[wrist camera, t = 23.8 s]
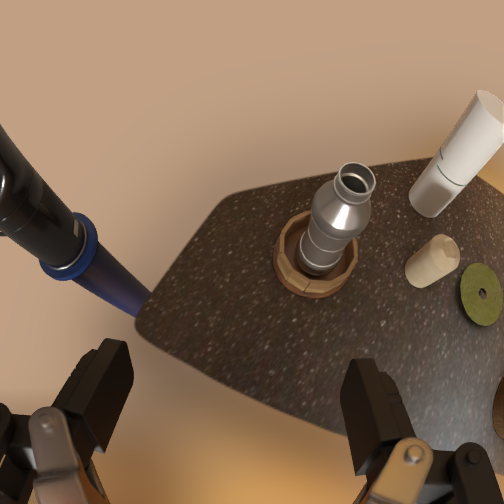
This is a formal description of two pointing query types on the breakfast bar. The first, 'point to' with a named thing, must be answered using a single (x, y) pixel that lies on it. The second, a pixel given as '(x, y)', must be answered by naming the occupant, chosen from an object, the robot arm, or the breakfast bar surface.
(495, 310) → the mat
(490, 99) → the cylindrical container
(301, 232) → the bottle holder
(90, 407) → the robot arm
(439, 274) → the candle
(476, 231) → the breakfast bar surface
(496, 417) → the wooden container
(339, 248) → the silver metal bottle
